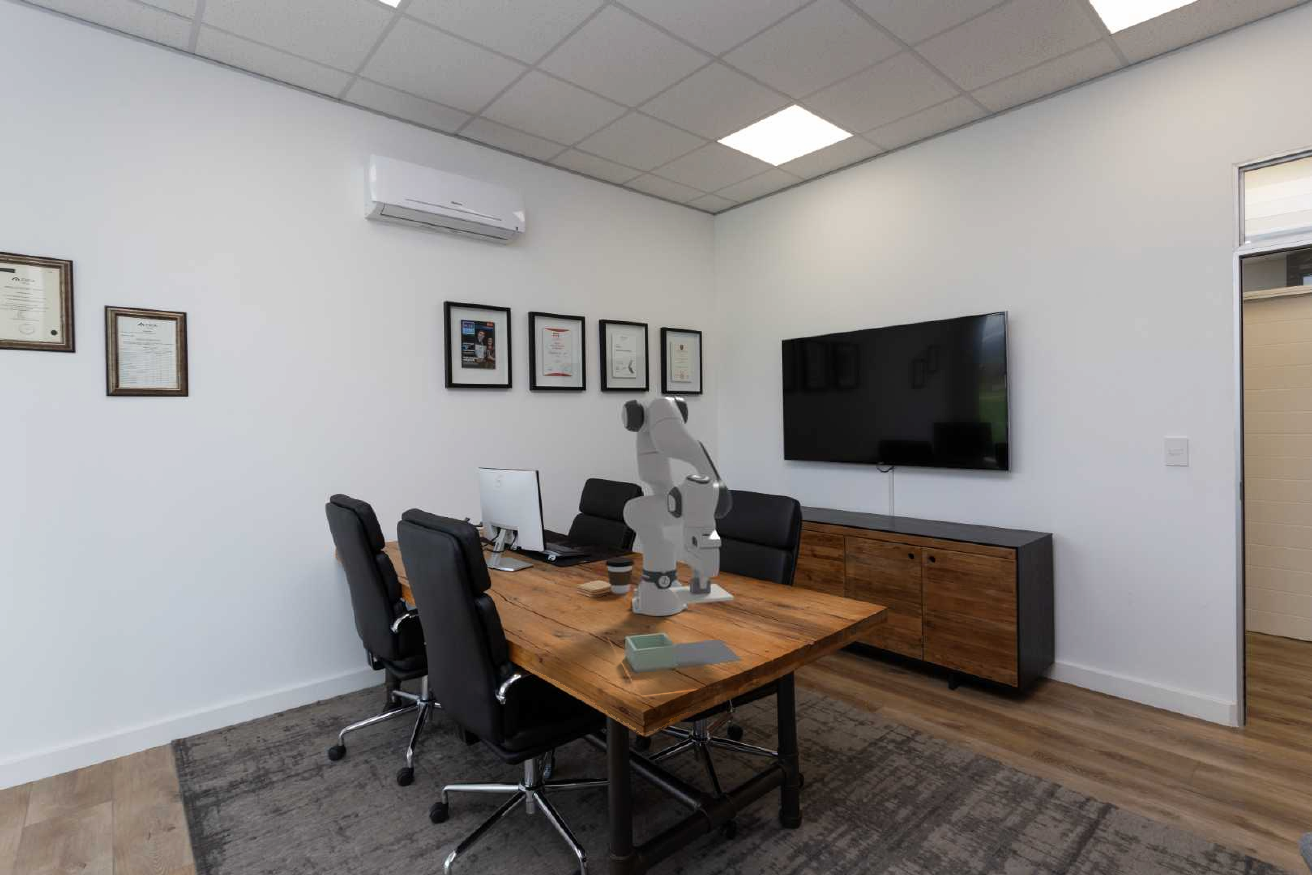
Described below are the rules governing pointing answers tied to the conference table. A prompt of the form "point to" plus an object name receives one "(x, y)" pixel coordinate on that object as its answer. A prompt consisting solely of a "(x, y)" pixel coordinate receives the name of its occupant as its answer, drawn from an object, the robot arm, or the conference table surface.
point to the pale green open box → (650, 652)
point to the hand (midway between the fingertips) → (700, 585)
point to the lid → (700, 593)
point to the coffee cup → (620, 573)
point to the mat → (704, 653)
